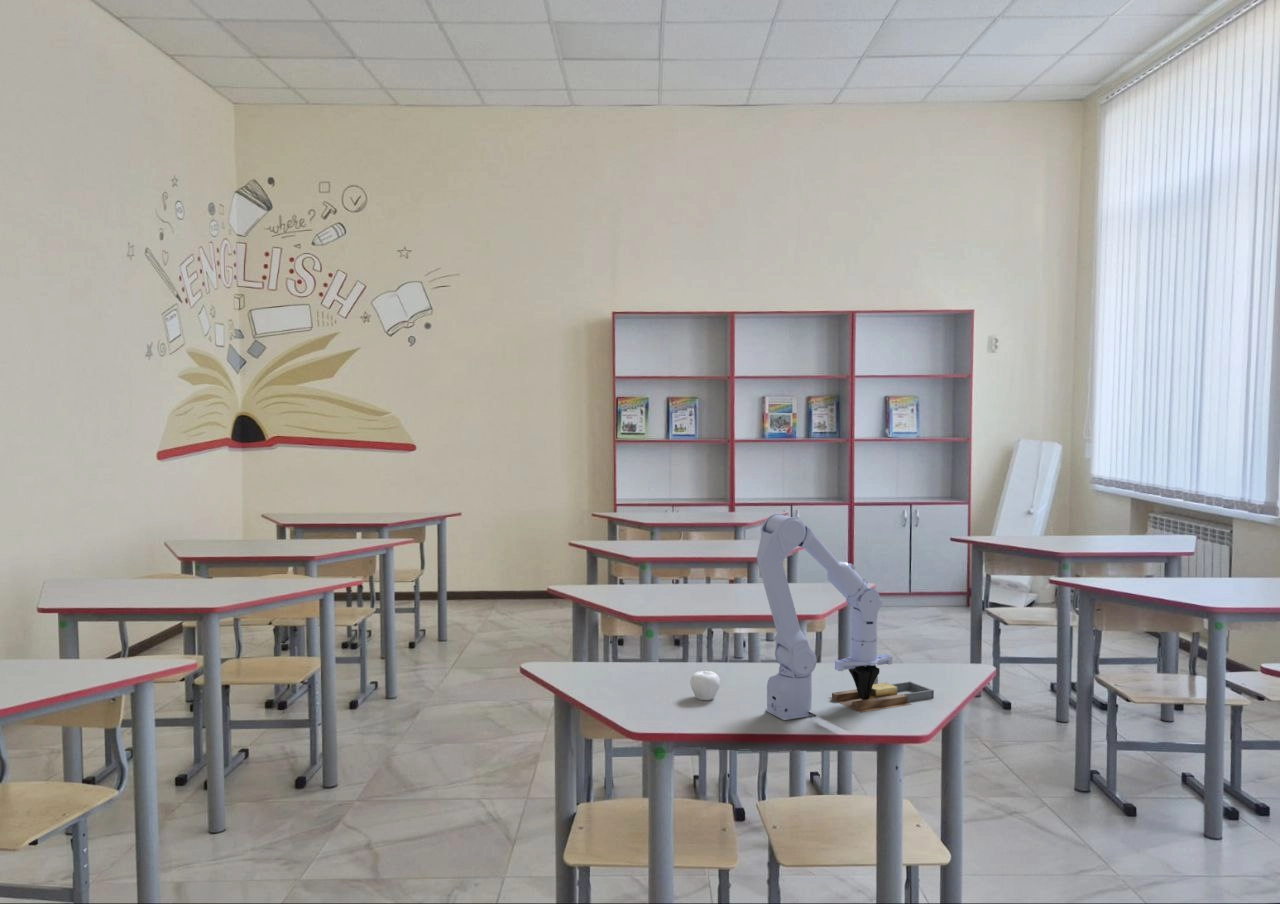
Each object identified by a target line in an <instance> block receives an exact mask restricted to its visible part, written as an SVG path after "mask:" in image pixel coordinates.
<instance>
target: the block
mask: <svg viewBox="0 0 1280 904" xmlns="http://www.w3.org/2000/svg"><path fill="white" fill-rule="evenodd" d="M891 684H892V683H888V682H878V684H873V686H872V689H871V693H870V697H869V699H873V698H879V697H886V696H892V695H898V691H897V687H896V686H894V685H891Z"/></svg>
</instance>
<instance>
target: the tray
mask: <svg viewBox="0 0 1280 904" xmlns="http://www.w3.org/2000/svg"><path fill="white" fill-rule="evenodd" d="M890 684H891V685H894V686H896V687H897V692H902V691H908V690H909V691H913V692H909V693H903V694H904V695H906V696H908V703H909V702H915V701H922V700H928V699H933V698H935V697H934V696H935V695H934V691H935V690H934V689H931V688H928V687H926V686H924V685H921V684H918V683H915V682H913V681H906V682H897V683H890Z"/></svg>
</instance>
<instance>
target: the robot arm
mask: <svg viewBox="0 0 1280 904" xmlns="http://www.w3.org/2000/svg"><path fill="white" fill-rule="evenodd" d="M797 547H800V548H803V549H804V550H805V551H806V552H807V553H808V554H809V555H810V556H811V557H812V558H813V559H814V560H815V561H816V562H817V563H819V565H821V566H822V567H823V568H824V570H826V571H827V575H826V576H827V580H828V581H829V582H830V583H831V584H832V586H834V588H835V589H836V590H837V591H838V592H839V593H841V594H842V596H843V597H844V598H845V601H846V604H847V605H848V606H850V607H851V609H850V617H851V618H850V656H848V657H845V658H843V659H839V660H834V670H836V671H837V672H844V670H845V671H847V670H848V672H849V673H850V675H851V677H852V679H853V681H854V685H855V687H856V689H857V692H858V696H859V698H860V699H862V700H866V699H869V697H870V693H871V689H872V686H873V683H874V681H875V679H876V677H877V676H878V677H879V674H880V668H878V667H877V666H880V665H881V666H882V665H889V666H890V665H893V655H891V654H888V653H885V654H878V613H879V611H880V610H881V608H882V606H883V599H882V598H881V596H880V594H879V593H880V592H878V591H877V590H876V589H875V588H873V587H869V585H868V584H869V581H868V580H867V579H866V578H862V577H861V575H859V573H858V572H857V571H856V570H855V569H856V566H855V565H854V564H852V563H850V562H849V563H848V562H847V561H838V559H837V558H836V557H835V555H833V554H832V552H831V551H830V550H829V548H827V546H826V545H825V544H824V543H823V542H822V541H821V539H819V537H818V536H817V534H815V533H814V532H813V530H812V529H811V528H810V527H809V526H807V525H805V523H804V522H803V521H802V520H801V519H799V518H797V517H794V516H792V517H791V516H786V515H784V514H782V513H774V514H771V515H769V516H768V517H767V519H766V520H765V521H764V522H763V524H762V525H761V527H760V539H759V544H758V547H757V554H756V561H757V564H758V569H759V571H760V576H761V579H762V583H763V586H764V590H765V595H766V598H767V602H768V605H769V609H770V611H771V615H772V619H773V620H772V621H773V624H774V627H775V630H776V634H775V636H774V641H775V649H774V657H775V660H776V661H777V663H778V664H779V667H778V673H777V674H774V675H772V676H770V677H768V680H767V683H766V708H764V710H765V712H767V713H769V714H771V715H773V716H775V717H777V718H778V719H781V720H782V721H787V720H788V721H789V720H797V719H801V718H807V717H813V716H814V717H815V716H816V714H815V713H813V712H811V710H812V709H813V708H812V707H813V705H812V704H813V702H812V701H813V698H812V696H813V695H812V693H813V684H812V682H813V677H812V676H813V674H812V673H813V672H814V671H815V668H816V666H817V661H818V660H817V655H816V654H815V652H814V650H813V649H811V647H810V645H809V642H808V639H807V638H806V636H805V635H804V633H803V631H802V629H801V626H800V623H799V618H798V616H797V611H796V607H795V605H794V601H793V598H792V596H793V595H792V593H791V590H790V586H789V582H788V579H787V575H786V570H785V568H784V567H785V566H784V564H783V563H784V561H785V559H786V558H787V556H788V554H790V553H791V552H792V551H794V550H795V549H796V548H797Z"/></svg>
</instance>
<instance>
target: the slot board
mask: <svg viewBox="0 0 1280 904" xmlns="http://www.w3.org/2000/svg"><path fill="white" fill-rule="evenodd" d="M904 694H905V693H898V694H897V695H892V696H886V697H879V698H873V699H866V700H862V699H860V698H859V696H858V692H857V688H856V689H850V690H842V691H837V692H832V693H831V696H830V697H829V699H830V700H832V701H834V702H836V703H838V704H840V705H843V706H846V707H848V708H849V709H852V710H854V711H856V712H859V713H867V712H874V711H880V710H886V709H892V708H898V707H899V708H900V707H905V706H906V707H907V706H911V705H913V704H912V703H909V702H908V696H906V695H904Z"/></svg>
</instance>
